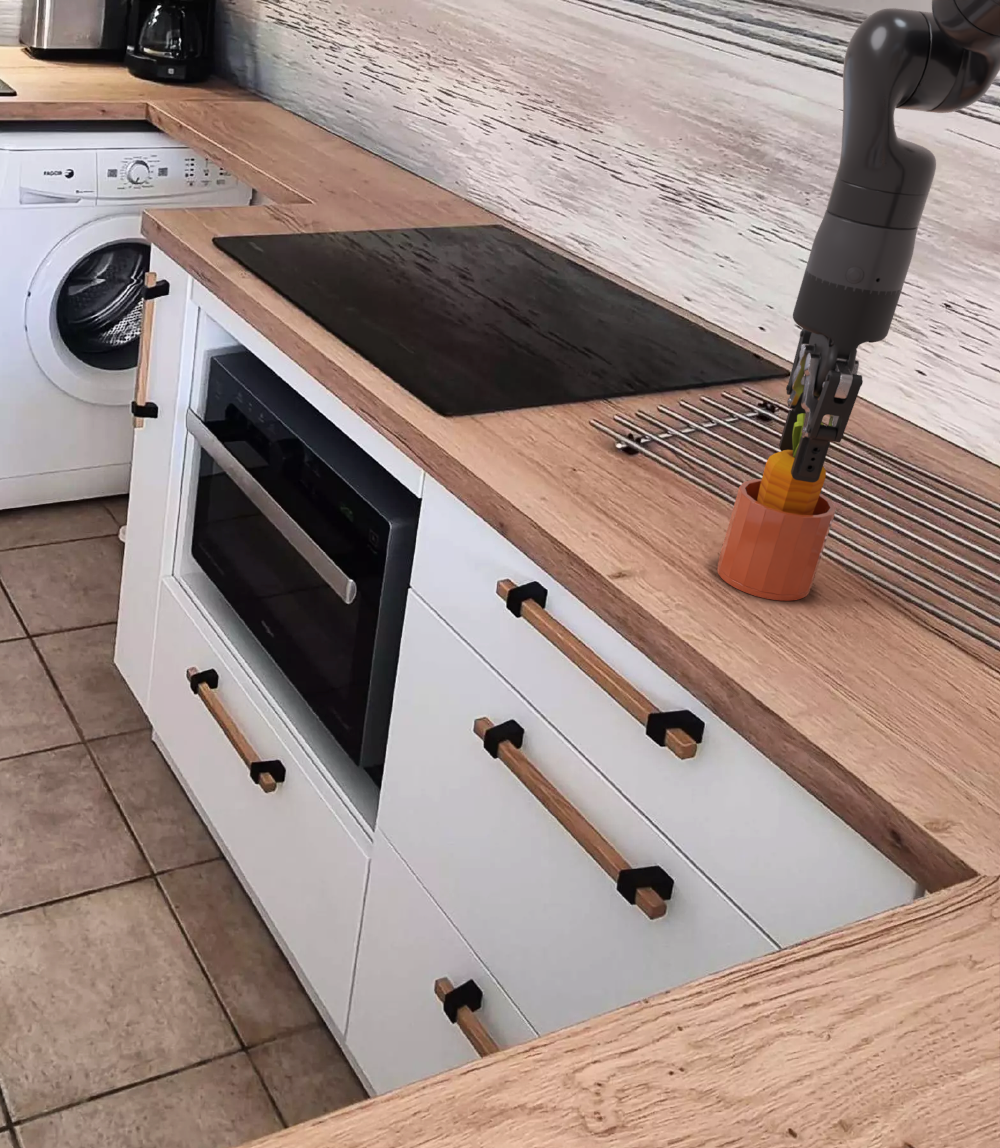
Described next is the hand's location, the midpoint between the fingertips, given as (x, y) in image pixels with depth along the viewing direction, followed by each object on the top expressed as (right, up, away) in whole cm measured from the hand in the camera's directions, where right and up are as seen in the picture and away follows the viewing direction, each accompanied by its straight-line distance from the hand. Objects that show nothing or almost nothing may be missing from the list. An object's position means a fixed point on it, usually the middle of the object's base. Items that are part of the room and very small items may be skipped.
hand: (797, 464), depth 129 cm
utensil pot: (-1, -10, +5) cm, 11 cm away
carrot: (-1, -10, +5) cm, 11 cm away
